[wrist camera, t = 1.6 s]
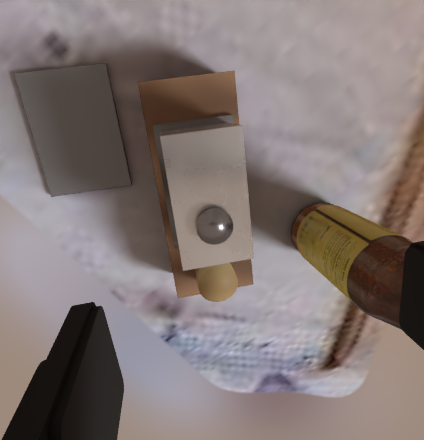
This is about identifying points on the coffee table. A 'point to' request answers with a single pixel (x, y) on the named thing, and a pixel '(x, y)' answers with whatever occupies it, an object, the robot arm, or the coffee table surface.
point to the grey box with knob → (209, 193)
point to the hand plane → (155, 123)
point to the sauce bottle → (354, 257)
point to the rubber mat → (75, 128)
